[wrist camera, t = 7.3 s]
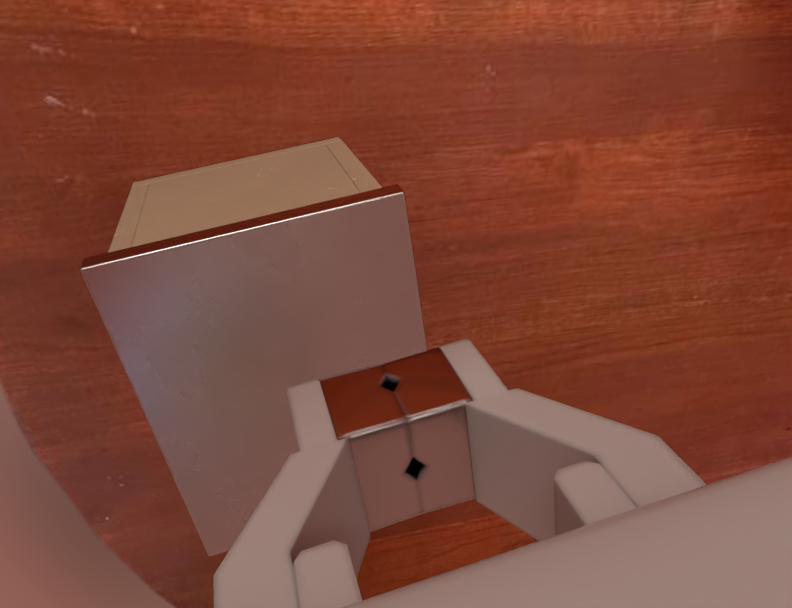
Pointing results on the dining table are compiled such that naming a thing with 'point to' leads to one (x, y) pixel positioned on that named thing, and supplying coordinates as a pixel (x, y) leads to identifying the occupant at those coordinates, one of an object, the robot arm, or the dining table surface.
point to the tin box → (239, 191)
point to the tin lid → (255, 335)
